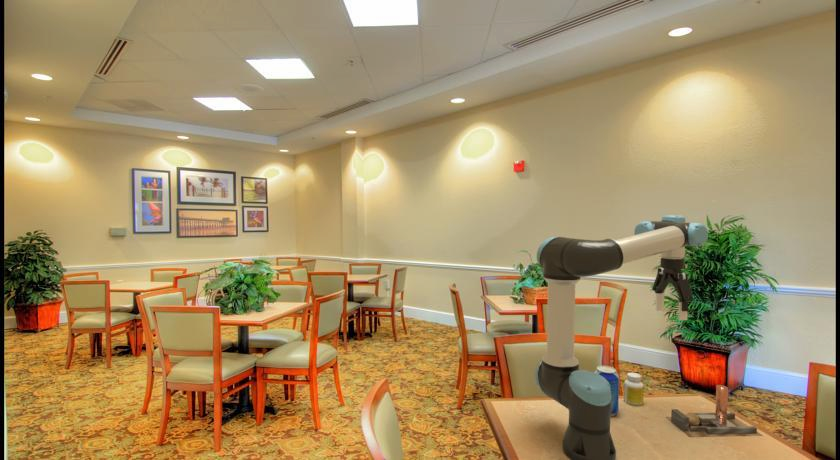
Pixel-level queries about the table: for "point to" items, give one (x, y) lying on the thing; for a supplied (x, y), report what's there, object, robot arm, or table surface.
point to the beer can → (611, 385)
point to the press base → (708, 429)
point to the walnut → (693, 419)
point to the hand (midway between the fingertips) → (670, 315)
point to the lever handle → (718, 410)
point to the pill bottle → (633, 390)
